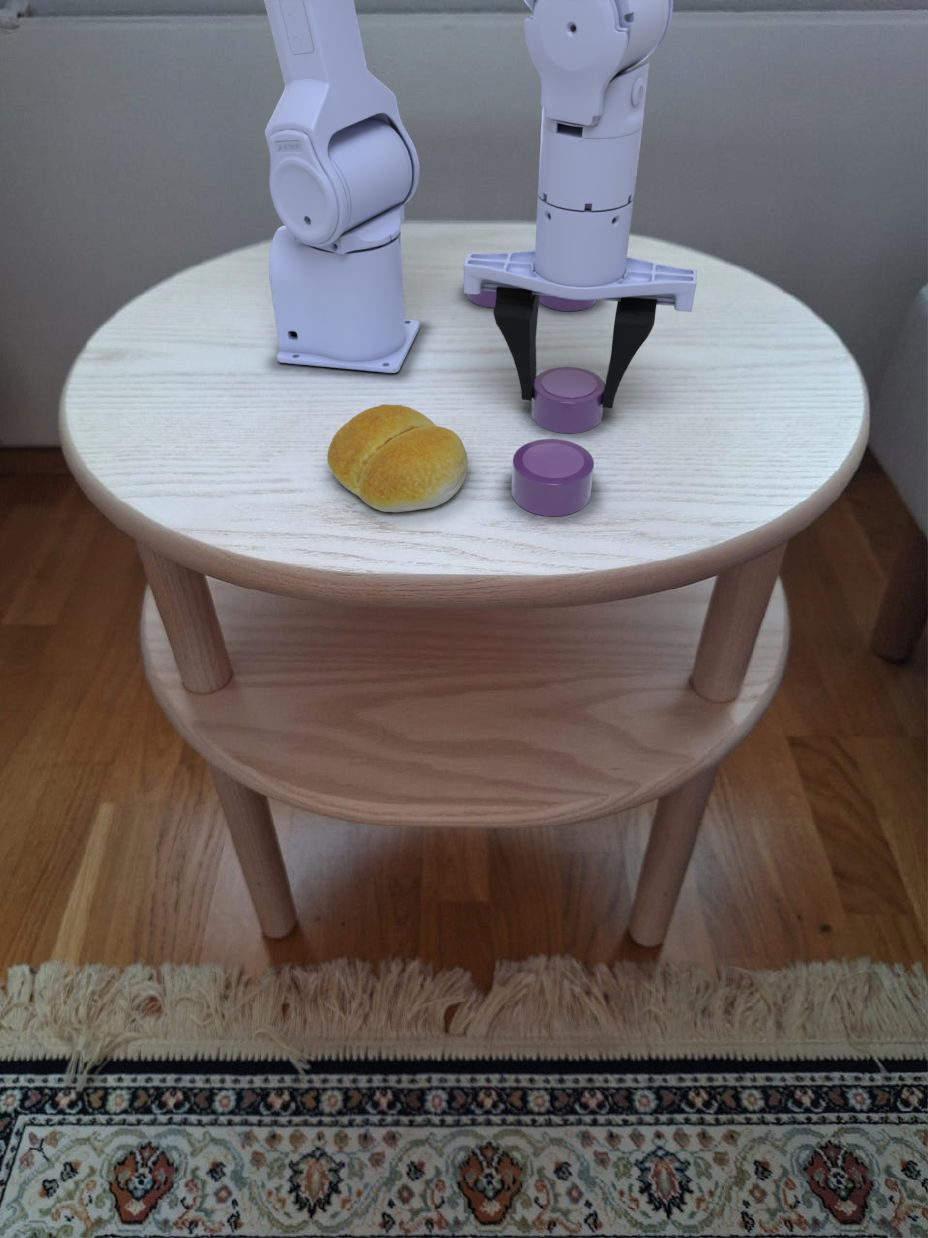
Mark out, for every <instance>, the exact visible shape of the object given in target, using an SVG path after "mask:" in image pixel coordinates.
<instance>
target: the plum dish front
mask: <svg viewBox="0 0 928 1238" xmlns="http://www.w3.org/2000/svg"><path fill="white" fill-rule="evenodd" d="M511 465H512V468H511V469H512V470H511V492H510V493H511V496H512V498H513V500H514V502H515V503H516V504H517V505H518V506H519V507H520V508H521V509H523V510H525V511H527V512H529V513H532V514H535V515H539V516H544V517H563V516H568V515H571V514H575V513H577V512H579V511H580V510H582V509H583V508H585V507H586V506H587V505H588V503H589V501H590V500H591V495H592V494H591V493H592V485H593V478H594V477H593V476H594V469H595V468H594V467H595V462H594V457H593V456H592V455H591V453H590V452H589V451H588V450H587V449H586V448H584V447H583V446H581V445H579V443H578V444H577V443H575V442H572V441H568V440H565V439H559V438H544V439H543V438H542V439H536V440H532V441H530V442H527V443H525V444H523V445H521V447H519V448H518V449H517V450H516V451H515V452H514V454H513V456H512V464H511Z"/></svg>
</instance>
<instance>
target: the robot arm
mask: <svg viewBox="0 0 928 1238" xmlns="http://www.w3.org/2000/svg"><path fill="white" fill-rule="evenodd" d="M263 2H264V6H265V10H266V15H267V18H268V23H269V27H270V31H271V35H272V39H273V43H274V47H275V51H276V55H277V60H278V63H279V67H280V71H281V75H282V80H283V83H284V89H283V92H282V94H281V97H280V98H279V100H278V102H277V104H276V106H275V108H274V111H273V113H272V114H271V116H270V118H269V121H268V122H267V124H266V128H265V130H264V136H265V141H266V145H267V148H268V152H269V158H270V159H269V160H270V168H269V179H268V180H269V192H270V197H271V202H272V204H273V206H274V209H275V211H276V213H277V215H278V217H279V219H280V221H281V222H282V224H283V225H281V226H280V227H278V228H277V230H276V231H275V232H274V235H273V238H272V240H271V243H270V247H269V248H270V249H269V256H268V277H269V278H268V279H269V286H270V292H271V293H270V294H271V300H272V307H273V313H274V320H275V327H276V334H277V340H278V341H277V342H278V349H279V351H278V353H277V355H276V359H277V362H279V363H281V364H282V363H283V364H293V365H302V366H303V365H304V366H314V367H322V368H323V367H324V368H333V369H334V368H335V369H336V368H337V369H345V370H354V371H355V370H356V371H366V372H377V373H389V374H395V373H397V372H399V371H400V370H401V367H402V365H403V364H404V361H405V358H406V356H407V355H408V353H409V350H410V348H411V346H412V344H413V342H414V340H415V338H416V336H417V334H418V332H419V330H420V323H421V322H420V321H418V320H416V319H406V318H405V297H404V296H405V295H404V292H405V291H404V273H403V254H402V251H403V250H402V232H401V230H402V229H401V224H402V223H403V222H404V221H405V220H406V219H405V205H406V204H407V203H408V202H409V201H410V200H412V198H413V196H415V193H416V191H417V189H418V186H419V181H420V162H419V156H418V153H417V150H416V147H415V144H414V142H413V140H412V139H411V137H410V135H409V133H408V132H407V130H406V127H405V126H404V124H403V121H402V118H401V117H400V112H399V108H398V101H397V96H396V95H395V94H394V92H393V91H392V90H391V89H390V88H388V87H387V86H386V85H385V84H384V83H382V82H381V81H380V80H379V79H378V78H376V76H374V75H373V74H372V73H371V71H369V69H368V68H367V67H368V66H367V62H366V56H365V51H364V47H363V42H362V37H361V31H360V26H359V21H358V15H357V12H356V7H355V1H354V0H263ZM523 2H524V3H525V4H526V6H527V7H528V8H529V9H530V10H531V12H532V15H530V16H529V18H528V17H527V18H525V19H524V21H523V29H524V38H525V44H526V48H527V51H528V54H529V57H530V60H531V62H532V63H533V65H534V67H535V68H536V70H537V72H538V75H539V78H540V84H541V93H540V94H541V95H540V107H541V108H542V109H541V124H540V125H541V126H540V127H541V129H540V148H539V166H538V167H539V168H538V184H537V185H538V188H537V203H536V207H537V208H536V222H535V223H536V224H535V241H534V243H535V244H534V250H523V251H521V250H520V251H508V252H491V253H490V252H488V253H487V252H469V253H468V255H467V256H466V259H465V261H464V264H463V294H465V295H467V294H475V295H478V294H480V293H481V290H482V291H494V292H496V303H495V307H494V308H493V312H492V313H493V318H494V321H495V324H496V326H497V328H498V329H499V332H500V333H501V334H502V336H503V338H504V340H505V343H506V344H507V347H508V349H509V351H510V354H511V356H512V357H511V358H512V359H513V363H514V366H515V369H516V373H517V377H518V382H519V387H520V395H521V400H523V401H531V402H532V395H533V383H534V379H535V377H536V376H537V330H538V329H537V328H538V317H539V306H540V302H539V296H540V295H544V296H556V297H560V298H565V299H573V300H593V299H594V300H596V301H608V302H617V304H616V309H615V316H614V321H613V332H612V340H611V350H610V358H609V363H608V368H607V372H606V378H605V389H604V396H603V405H602V408H603V409H612V408H613V406H614V403H615V398H616V396H617V392H618V389H619V387H620V384H621V382H622V379H623V378H624V375H625V373H626V371H627V369H628V367H629V366H630V365H631V362H632V360H633V359H634V358H635V356H636V354H637V352H638V351H639V349H640V348H641V347H642V345H643V344H644V342H645V341H646V340H647V339H648V338H649V336H650V334H651V332H652V330H653V328H654V326H655V323H656V312H657V306H672V307H673V309H674V310H675V311H677V312H686V313H691V312H693V307H694V301H695V295H696V289H697V280H698V270H697V269H693V268H686V267H685V268H683V267H678V266H677V267H676V266H672V265H666V264H661V263H657V262H653V261H648V260H644V259H640V258H636V257H630V256H628V253H629V251H628V250H629V243H630V242H629V241H630V235H631V226H632V218H633V217H632V216H633V210H634V209H633V208H634V200H635V192H636V184H637V177H638V176H637V175H638V166H639V159H640V158H639V157H640V150H641V141H642V133H643V125H644V115H645V104H646V103H645V102H646V94H647V86H648V76H649V70H650V69H649V68H650V63H649V61H646V62H644V61H645V60H646V59H648V58H649V57H650V56H651V55H652V54H653V53H655V52H656V51H657V49H658V48H659V47H660V46H661V44H662V43H663V41H664V40H665V37H667V33H668V31H669V29H670V25H671V22H672V18H673V10H674V0H523ZM643 62H644V63H643ZM640 63H641V64H640ZM639 64H640V65H639ZM637 65H638V66H637ZM635 66H636V67H635ZM631 68H632V69H631ZM629 69H630V70H629Z"/></svg>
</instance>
